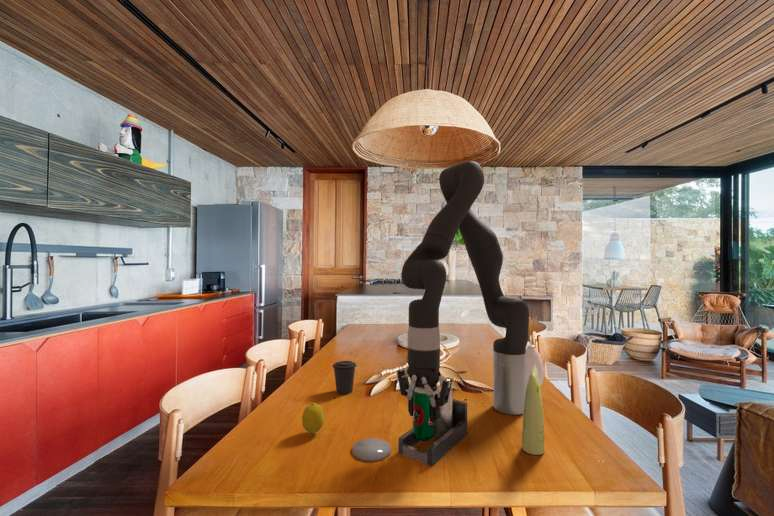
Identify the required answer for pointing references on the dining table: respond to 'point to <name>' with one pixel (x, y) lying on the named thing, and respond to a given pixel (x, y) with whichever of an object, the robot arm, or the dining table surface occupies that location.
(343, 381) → the coffee cup
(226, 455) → the dining table surface
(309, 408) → the lemon
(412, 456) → the can rack
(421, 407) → the soda can
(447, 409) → the grey metal cylinder
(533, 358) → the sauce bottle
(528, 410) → the tube
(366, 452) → the grey disc
